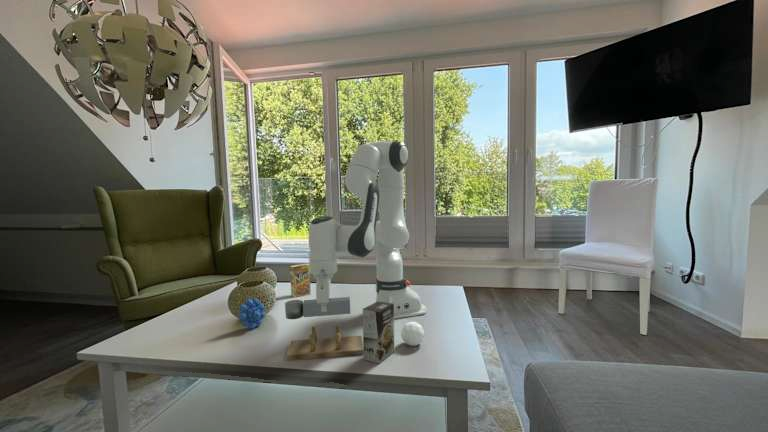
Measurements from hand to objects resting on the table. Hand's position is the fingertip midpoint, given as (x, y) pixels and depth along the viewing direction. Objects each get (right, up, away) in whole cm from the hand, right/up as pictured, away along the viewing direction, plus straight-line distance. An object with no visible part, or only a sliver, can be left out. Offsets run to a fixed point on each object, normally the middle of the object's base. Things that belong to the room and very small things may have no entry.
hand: (324, 308), depth 116 cm
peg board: (0, -14, +1) cm, 14 cm away
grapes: (-30, -13, +20) cm, 38 cm away
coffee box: (+18, -14, -4) cm, 23 cm away
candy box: (-22, -10, +62) cm, 66 cm away
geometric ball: (+29, -13, +4) cm, 32 cm away
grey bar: (-2, -2, 0) cm, 3 cm away
